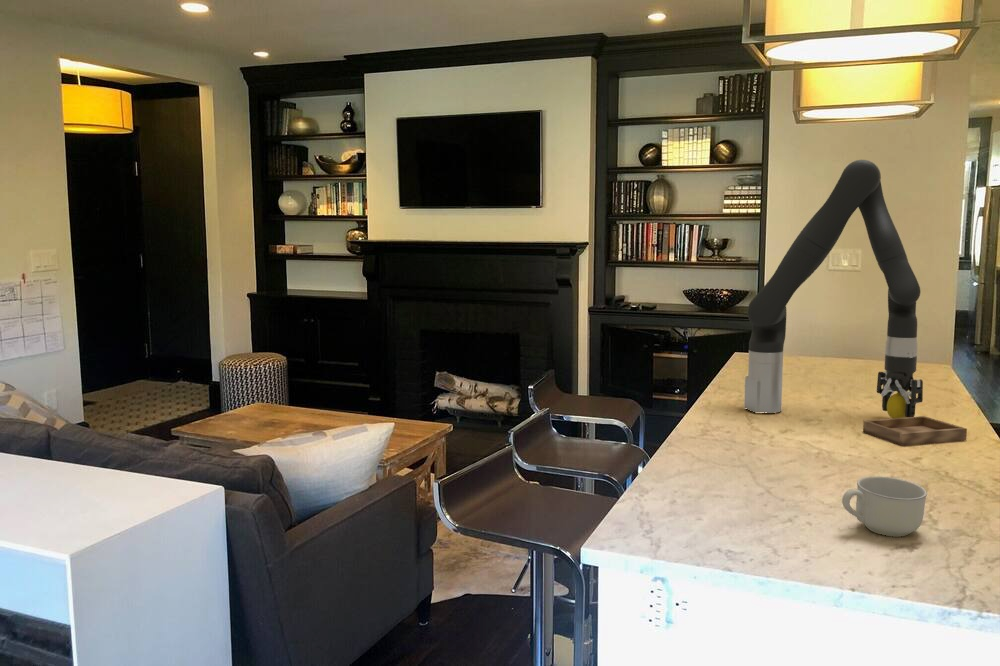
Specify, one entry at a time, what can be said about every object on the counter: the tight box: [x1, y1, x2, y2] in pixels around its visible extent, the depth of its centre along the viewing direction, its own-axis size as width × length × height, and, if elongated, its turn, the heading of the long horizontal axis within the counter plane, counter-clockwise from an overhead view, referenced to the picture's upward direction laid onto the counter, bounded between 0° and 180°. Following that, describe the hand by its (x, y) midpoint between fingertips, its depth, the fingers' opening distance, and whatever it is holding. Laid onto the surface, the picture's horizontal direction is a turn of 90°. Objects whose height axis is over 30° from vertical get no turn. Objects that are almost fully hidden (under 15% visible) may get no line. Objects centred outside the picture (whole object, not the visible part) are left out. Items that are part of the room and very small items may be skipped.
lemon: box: [886, 392, 907, 419], centre depth 217 cm, size 6×6×8 cm
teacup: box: [841, 475, 928, 538], centre depth 140 cm, size 14×11×8 cm
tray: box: [862, 415, 968, 447], centre depth 202 cm, size 18×14×3 cm
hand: (898, 414), depth 217 cm, fingers open, 8 cm apart
